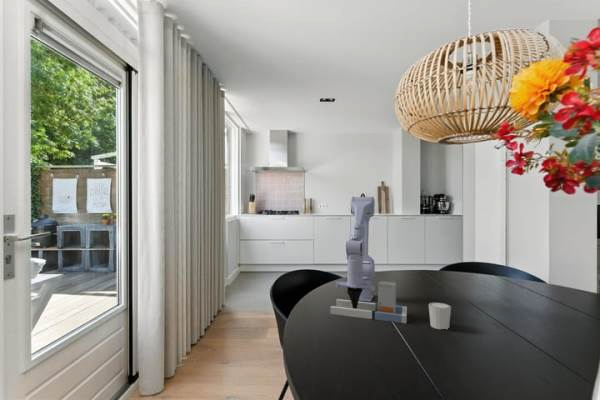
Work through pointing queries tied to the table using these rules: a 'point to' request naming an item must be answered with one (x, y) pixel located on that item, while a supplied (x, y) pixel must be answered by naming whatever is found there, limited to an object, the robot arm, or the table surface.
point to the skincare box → (387, 297)
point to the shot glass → (439, 315)
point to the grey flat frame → (368, 311)
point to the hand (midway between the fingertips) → (354, 308)
